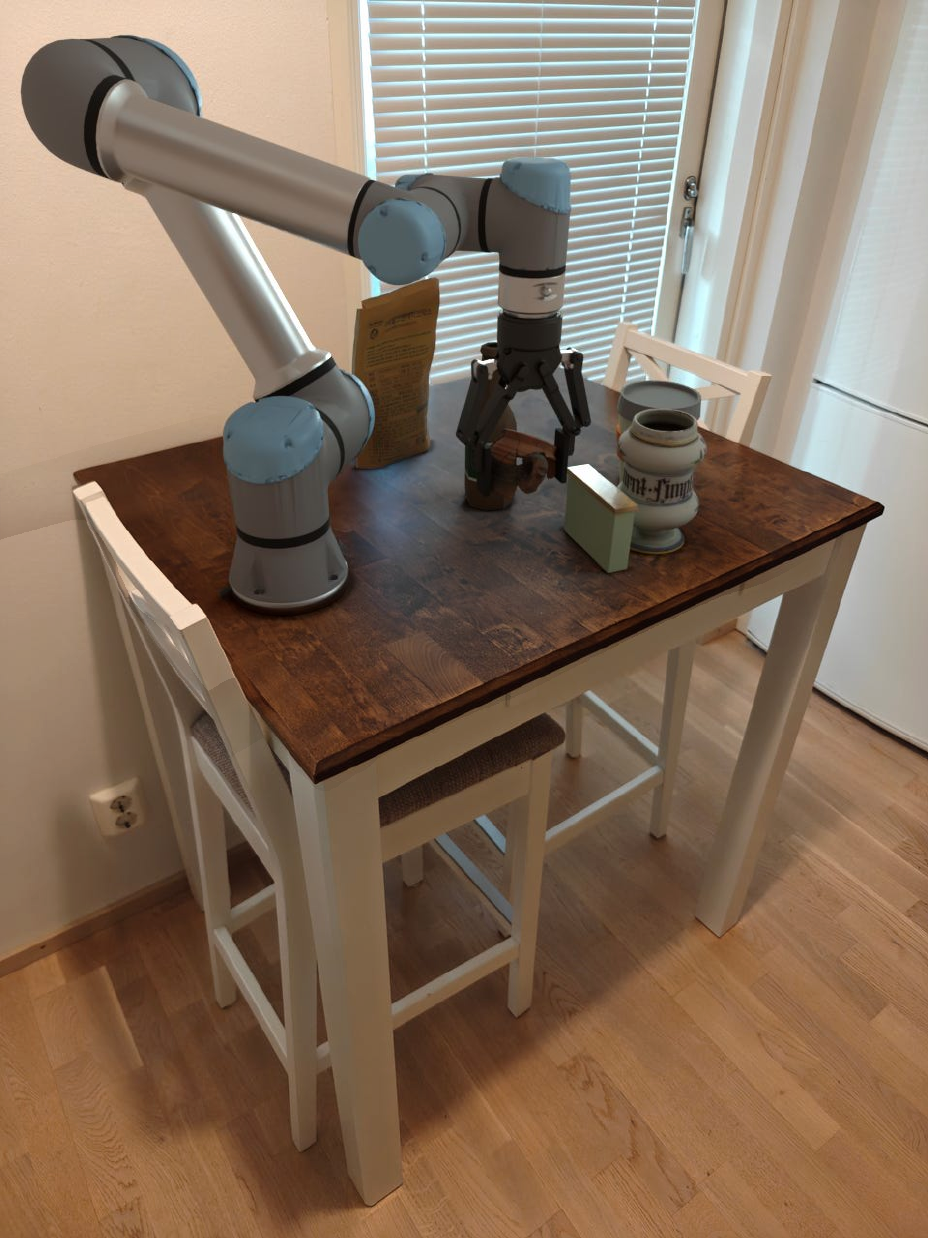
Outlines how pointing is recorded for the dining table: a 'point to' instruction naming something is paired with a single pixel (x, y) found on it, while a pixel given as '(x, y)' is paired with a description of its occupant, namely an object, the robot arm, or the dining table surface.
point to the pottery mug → (525, 475)
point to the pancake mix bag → (396, 369)
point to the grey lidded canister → (653, 403)
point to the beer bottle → (504, 422)
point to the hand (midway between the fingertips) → (521, 485)
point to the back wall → (599, 517)
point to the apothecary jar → (661, 476)
